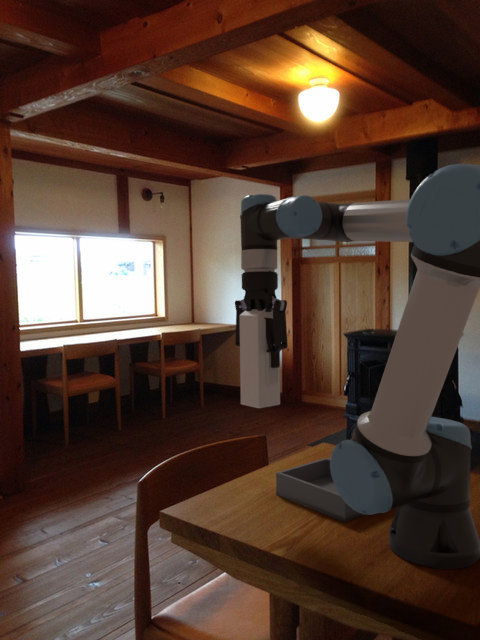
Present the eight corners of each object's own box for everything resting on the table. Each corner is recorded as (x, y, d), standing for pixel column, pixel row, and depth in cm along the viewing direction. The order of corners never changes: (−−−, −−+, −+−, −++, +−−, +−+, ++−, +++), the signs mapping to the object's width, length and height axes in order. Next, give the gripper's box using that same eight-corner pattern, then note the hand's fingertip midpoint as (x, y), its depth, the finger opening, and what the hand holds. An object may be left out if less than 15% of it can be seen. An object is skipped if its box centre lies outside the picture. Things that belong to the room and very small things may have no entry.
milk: (258, 409, 112) (257, 300, 110) (240, 404, 116) (238, 300, 115) (280, 404, 115) (279, 299, 114) (262, 400, 120) (260, 299, 119)
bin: (394, 501, 119) (395, 478, 119) (344, 522, 108) (344, 497, 108) (326, 478, 134) (326, 457, 134) (276, 494, 123) (276, 472, 123)
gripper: (305, 269, 110) (306, 384, 111) (243, 273, 124) (244, 375, 125) (279, 268, 105) (280, 389, 106) (216, 272, 119) (218, 378, 120)
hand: (260, 381), depth 116 cm, fingers closed on milk, 6 cm apart
